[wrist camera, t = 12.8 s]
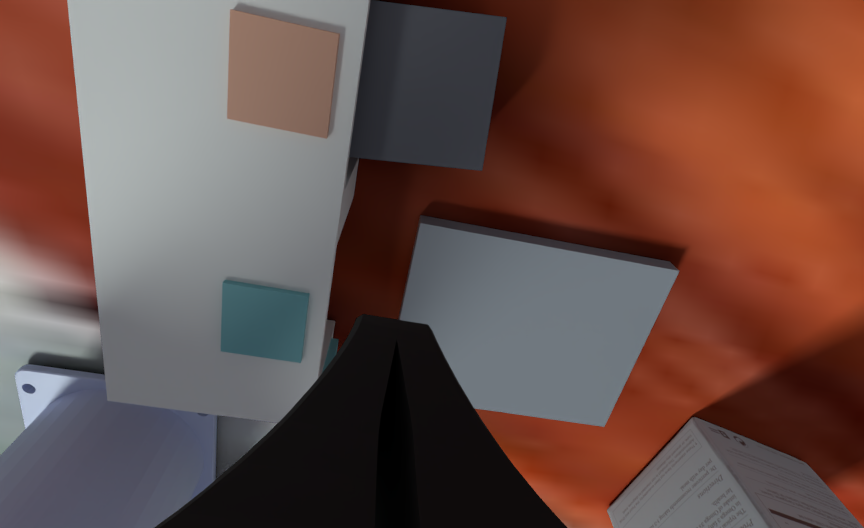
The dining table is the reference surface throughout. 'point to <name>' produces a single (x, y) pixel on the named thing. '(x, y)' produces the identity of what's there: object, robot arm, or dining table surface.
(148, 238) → the socket bar
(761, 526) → the supplement box
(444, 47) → the plug
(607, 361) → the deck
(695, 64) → the dining table surface
